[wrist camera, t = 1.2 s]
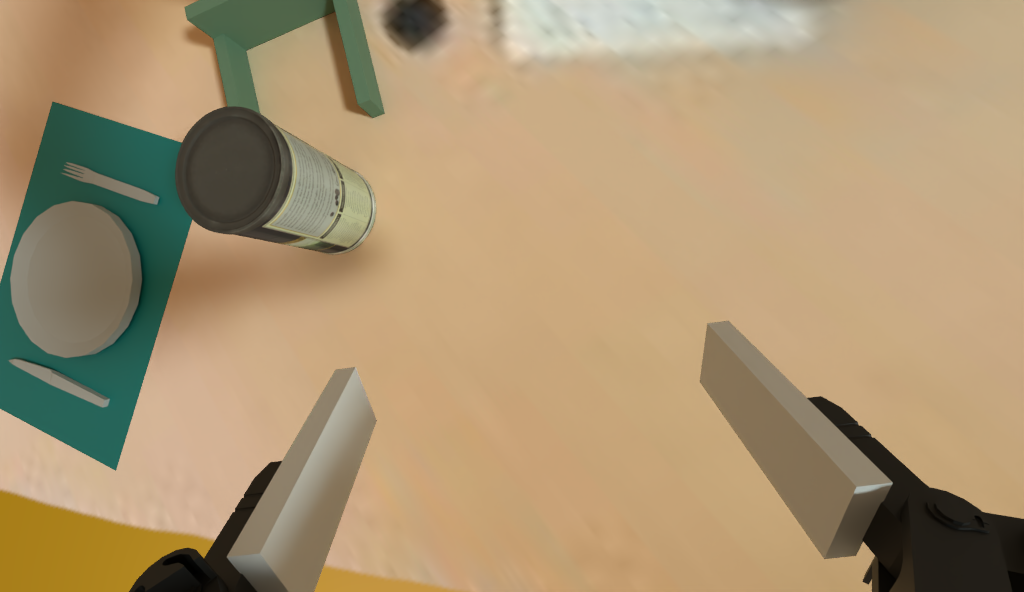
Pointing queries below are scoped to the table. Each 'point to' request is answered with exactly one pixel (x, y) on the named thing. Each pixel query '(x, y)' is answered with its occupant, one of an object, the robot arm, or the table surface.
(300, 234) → the coffee can
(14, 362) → the place mat
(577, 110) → the table surface
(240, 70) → the green frame
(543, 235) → the table surface
